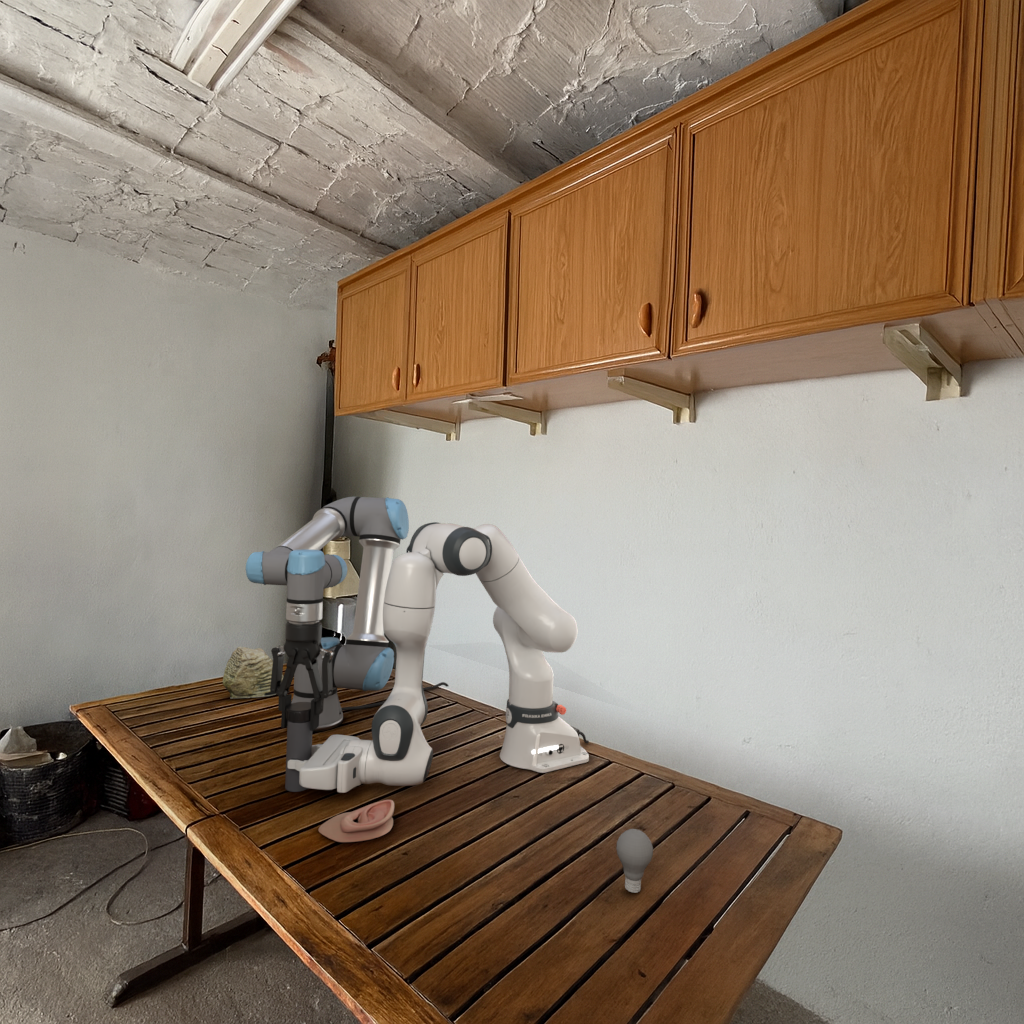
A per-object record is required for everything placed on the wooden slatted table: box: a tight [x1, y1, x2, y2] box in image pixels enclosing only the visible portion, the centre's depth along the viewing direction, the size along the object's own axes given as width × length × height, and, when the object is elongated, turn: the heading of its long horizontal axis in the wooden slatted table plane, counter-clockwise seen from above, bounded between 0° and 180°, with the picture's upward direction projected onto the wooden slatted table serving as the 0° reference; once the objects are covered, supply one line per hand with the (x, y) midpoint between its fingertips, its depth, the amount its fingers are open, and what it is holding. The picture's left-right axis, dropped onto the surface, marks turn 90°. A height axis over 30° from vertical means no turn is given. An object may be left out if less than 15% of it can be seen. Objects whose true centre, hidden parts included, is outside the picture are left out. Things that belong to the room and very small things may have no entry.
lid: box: [286, 702, 311, 722], centre depth 138 cm, size 6×6×2 cm
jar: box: [284, 720, 313, 793], centre depth 138 cm, size 5×5×17 cm
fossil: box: [222, 646, 284, 699], centre depth 198 cm, size 9×18×15 cm, turn 132°
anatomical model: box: [317, 799, 395, 843], centre depth 122 cm, size 13×4×12 cm
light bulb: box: [615, 828, 654, 894], centre depth 106 cm, size 6×6×10 cm
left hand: (300, 726), depth 138 cm, fingers closed on lid, 6 cm apart
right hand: (294, 757), depth 138 cm, fingers closed on jar, 5 cm apart
